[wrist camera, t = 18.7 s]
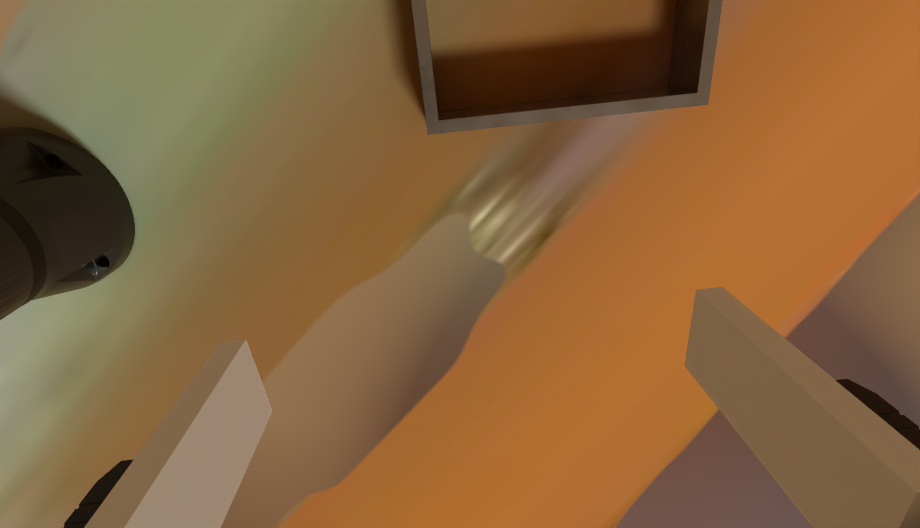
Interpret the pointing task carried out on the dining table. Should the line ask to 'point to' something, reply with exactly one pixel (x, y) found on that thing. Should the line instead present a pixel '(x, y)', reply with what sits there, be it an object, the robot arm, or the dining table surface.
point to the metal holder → (685, 89)
